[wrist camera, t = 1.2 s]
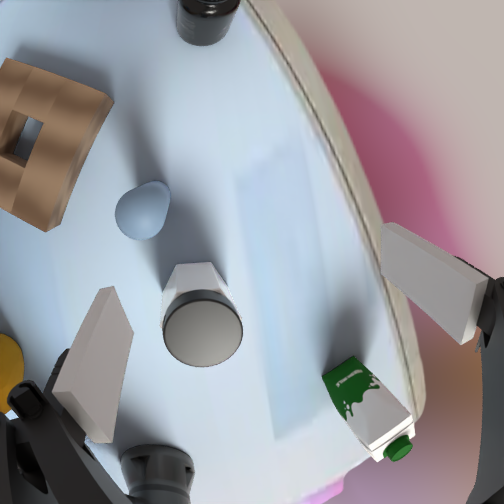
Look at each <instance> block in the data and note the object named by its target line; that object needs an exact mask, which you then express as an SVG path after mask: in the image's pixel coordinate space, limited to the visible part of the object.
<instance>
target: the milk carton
mask: <svg viewBox="0 0 504 504" xmlns="http://www.w3.org/2000/svg"><path fill="white" fill-rule="evenodd" d="M322 379H323V381H324V383H325V385H326V388H327V390H328V392H329V395H330V397H331V399H332V402H333V403H334V405H335V407H336V409H337V410H338V412H339V413H340V415H341V416H342V418H343V419H344V421H345V422H346V424H347V425H348V427H349V428H350V429H351V431H352V432H353V434H354V435H355V436H356V438H357V439H358V440H359V442H360V443H361V445H362V446H363V447H364V448H365V450H366V451H367V452H368V453H369V454H370V455H371V456H372V458H374V460H376V461H377V462H378V461H379V460H381V459H382V458H385V457H386V456H388V457H389V458H390V460H391V461H393V462H395V461H398V460H400V459H401V458H403V457H404V456H405V455H407V454H408V453H409V452H410V450H411V449H412V447H413V445H412V444H411V442H410V441H409V440H410V439H411V438H412V437H413V436H414V435H415V430H414V422H413V420H412V415H411V414H410V413H409V412H408V411H407V409H406V408H405V406H403V405H402V404H401V403H400V402H399V401H398V400H397V398H396V397H395V396H394V395H393V394H392V393H391V392H390V391H389V390H388V389H387V388H386V387H385V386H384V385H383V384H382V382H381V381H380V380H379V379H378V378H377V377H376V376H375V375H374V374H373V373H372V372H371V371H369V370H368V369H367V368H366V367H365V366H364V365H363V364H362V363H361V362H360V361H359V360H358V359H357V358H355V357H354V356H353V357H351V358H350V359H348V360H347V361H345V362H344V363H342V364H341V365H339V366H338V367H336V368H335V369H333V370H332V371H330V372H328V373H327V374H325V375H324V376H322Z"/></svg>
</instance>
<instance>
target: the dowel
mask: <svg viewBox="0 0 504 504" xmlns="http://www.w3.org/2000/svg"><path fill="white" fill-rule="evenodd" d="M170 199H171V193H170V190H169V188H168V187H167V186H166V185H165V184H164V183H162V182H160V181H151V182H148V183H146V184H144V185H141V186H139V187H137V188H135V189H132V190H130V191H128V192H127V193H125V194H124V195H123V196H122V197H121V198H120V200H119V201H118V203H117V206H116V210H115V218H116V222H117V225H118V227H119V229H120V230H121V231H122V233H124V234H125V235H126V236H127V237H129V238H132V239H135V240H146V239H149V238H151V237H153V236H155V235H156V234H157V233H158V232H159V231H160V230H161V229H162V227H163V225H164V222H165V218H166V215H167V211H168V207H169V203H170Z"/></svg>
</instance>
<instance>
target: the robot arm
mask: <svg viewBox="0 0 504 504" xmlns="http://www.w3.org/2000/svg"><path fill="white" fill-rule="evenodd" d="M381 274H382V275H383V276H384V277H385V278H387V279H388V280H389V281H390V282H391V283H393V284H394V285H395V286H396V287H397V288H398V289H399V290H401V291H402V292H403V293H404V294H405V295H406V296H407V297H409V298H410V299H411V300H412V301H413V302H415V303H416V304H417V305H418V306H419V307H420V308H421V309H422V310H423V311H424V312H425V313H427V314H428V315H429V316H430V317H431V318H432V319H433V320H434V321H435V322H437V323H438V324H439V325H440V326H441V327H442V328H443V329H444V330H445V331H446V332H447V333H448V334H450V336H451V337H453V338H454V339H455V340H456V341H457V342H458V343H459V344H460V345H462V344H464V343H465V342H467V341H469V340H470V339H472V338H473V336H474V333H475V330H476V326H478V327H479V328H480V329H481V330H482V331H481V334H480V337H479V340H478V343H477V346H476V349H475V352H477V351H478V349H479V347H480V346H481V359H482V381H483V412H482V413H483V414H482V433H481V445H480V455H479V463H478V471H477V477H476V482H475V485H474V488H473V490H472V492H471V494H470V495H469V498H468V500H467V502H466V504H504V277H500V278H497V279H496V280H494V279H493V278H491V277H490V276H488V275H487V274H485V273H483V272H482V271H481V270H479V269H477V268H474V266H473V265H471V264H468V262H466V261H464V260H462V259H461V258H459V257H456V256H453V255H451V254H449V253H447V252H446V251H444V250H442V249H441V248H439V247H437V246H435V245H434V244H432V243H430V242H429V241H427V240H425V239H423V238H421V237H420V236H418V235H416V234H414V233H412V232H411V231H409V230H407V229H405V228H403V227H401V226H400V225H398V224H396V223H394V222H391V223H387V224H382V225H381ZM133 335H134V332H133V330H132V328H131V326H130V323H129V321H128V319H127V317H126V314H125V312H124V310H123V307H122V305H121V303H120V300H119V298H118V295H117V293H116V290H115V288H114V286H111V287H107V288H102V289H100V290H99V291H98V293H97V295H96V297H95V299H94V301H93V303H92V305H91V307H90V309H89V311H88V313H87V315H86V317H85V319H84V321H83V323H82V325H81V327H80V329H79V331H78V333H77V335H76V337H75V339H74V341H73V344H72V346H71V348H69V349H66V350H65V351H64V352H63V353H62V354H61V355H60V356H59V358H58V360H57V362H56V364H55V368H54V369H53V371H52V373H51V374H52V375H50V378H49V380H48V382H47V385H46V387H45V389H44V392H43V393H42V392H41V391H40V389H39V388H38V387H37V385H36V384H35V383H34V382H33V381H30V380H27V381H22V382H20V383H18V384H17V385H16V386H14V387H13V388H12V390H11V391H10V392H9V394H8V397H7V404H8V405H9V406H10V408H11V409H12V410H13V411H14V412H15V413H16V415H17V416H18V417H19V418H16V419H12V420H9V419H8V418H7V417H6V416H5V414H4V413H3V412H0V504H191V503H190V496H189V494H190V490H191V486H192V483H193V479H194V475H195V470H194V464H193V461H192V459H191V458H190V457H189V456H188V455H187V454H185V453H183V452H182V451H179V450H177V449H174V448H171V447H167V446H161V445H142V446H137V447H133V448H131V449H129V450H127V451H126V452H125V453H124V454H123V456H122V459H121V470H122V473H123V476H124V479H125V481H126V484H127V487H128V490H129V495H127V494H124V493H123V492H122V491H121V489H120V488H119V487H118V486H117V485H116V483H115V482H114V481H113V480H112V478H111V477H110V476H109V474H108V473H107V472H106V471H105V469H104V468H103V467H102V465H101V464H100V462H99V461H98V460H97V458H96V457H95V456H94V454H93V453H92V451H91V450H90V448H89V447H88V446H87V445H86V444H85V443H84V441H85V436H86V435H87V436H88V437H89V438H90V439H91V440H92V441H93V442H94V443H113V436H114V429H115V423H116V417H117V411H118V406H119V400H120V395H121V390H122V385H123V380H124V375H125V370H126V366H127V361H128V356H129V352H130V348H131V343H132V339H133Z"/></svg>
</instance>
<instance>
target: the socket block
mask: <svg viewBox="0 0 504 504" xmlns="http://www.w3.org/2000/svg"><path fill="white" fill-rule="evenodd" d="M113 104H114V102H113V100H112V99H111V98H110V97H109V96H108V95H107V94H106V93H104V92H101V91H99V90H96V89H94V88H91V87H89V86H86V85H84V84H81V83H78V82H76V81H73V80H71V79H68V78H65V77H62V76H60V75H57V74H54V73H51V72H49V71H46V70H43V69H40V68H37V67H34V66H31V65H28V64H25V63H22V62H19V61H15V60H12V59H9V58H6V59H5V61H4V63H3V64H2V66H1V68H0V208H2V209H3V210H5V211H7V212H9V213H10V214H12V215H14V216H16V217H18V218H20V219H21V220H23V221H25V222H27V223H29V224H31V225H33V226H34V227H36V228H38V229H40V230H42V231H44V232H47V231H49V230H51V229H53V228H55V227H56V226H58V225H60V224H61V221H62V218H63V215H64V212H65V209H66V206H67V204H68V201H69V198H70V196H71V193H72V191H73V188H74V186H75V183H76V181H77V178H78V176H79V173H80V171H81V169H82V166H83V164H84V162H85V160H86V157H87V155H88V153H89V151H90V149H91V147H92V145H93V142H94V140H95V138H96V136H97V134H98V132H99V130H100V128H101V126H102V124H103V122H104V121H105V119H106V117H107V115H108V113H109V111H110V109H111V108H112V106H113ZM28 116H29V117H31V118H33V119H36V120H38V121H40V122H43V123H44V124H43V126H42V128H41V130H40V132H39V135H38V137H37V139H36V142H35V144H34V146H33V149H32V151H31V154H30V156H29V159H28V161H27V160H25V159H23V158H21V157H19V156H17V155H15V154H13V152H14V150H15V147H16V145H17V142H18V140H19V137H20V135H21V132H22V130H23V128H24V125H25V123H26V121H27V119H28Z"/></svg>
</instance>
